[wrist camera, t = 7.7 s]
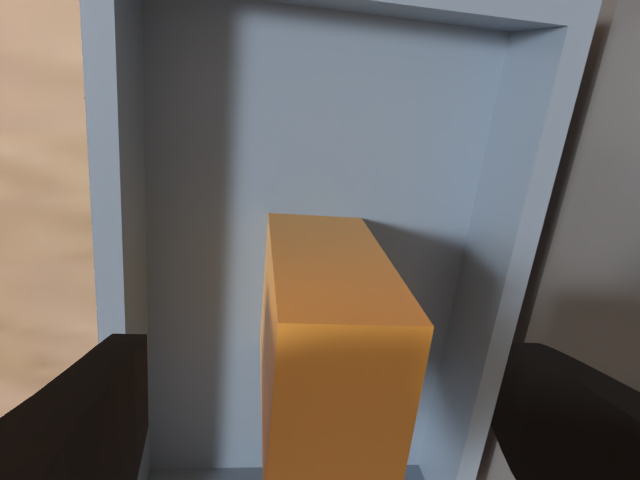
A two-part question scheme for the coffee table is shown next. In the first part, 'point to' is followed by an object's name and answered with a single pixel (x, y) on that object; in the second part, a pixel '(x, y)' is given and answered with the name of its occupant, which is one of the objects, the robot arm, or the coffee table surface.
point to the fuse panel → (591, 223)
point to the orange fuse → (337, 353)
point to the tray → (320, 190)
